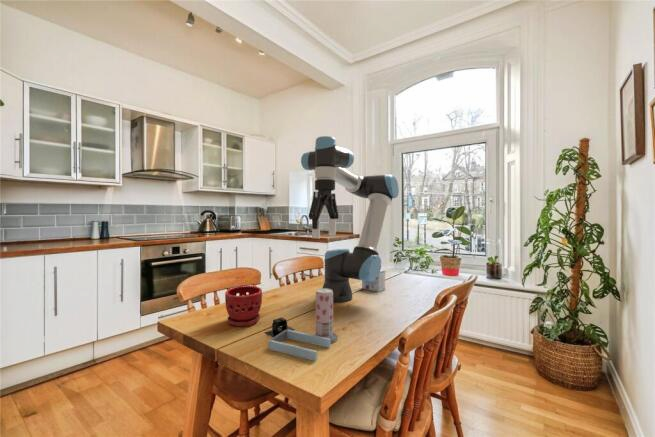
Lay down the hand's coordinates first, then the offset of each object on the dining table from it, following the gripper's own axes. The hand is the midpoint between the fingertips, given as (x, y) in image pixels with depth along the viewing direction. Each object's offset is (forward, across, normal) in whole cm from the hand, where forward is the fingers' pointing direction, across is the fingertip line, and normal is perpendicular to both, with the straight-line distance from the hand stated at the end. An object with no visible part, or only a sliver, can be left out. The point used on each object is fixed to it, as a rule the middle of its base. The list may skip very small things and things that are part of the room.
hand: (324, 236), depth 110 cm
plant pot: (+32, +14, -26) cm, 44 cm away
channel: (+32, +22, +3) cm, 39 cm away
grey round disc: (+32, +13, +7) cm, 35 cm away
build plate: (+32, +15, -10) cm, 37 cm away
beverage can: (+31, +13, +6) cm, 34 cm away
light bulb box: (+32, -54, +3) cm, 63 cm away
